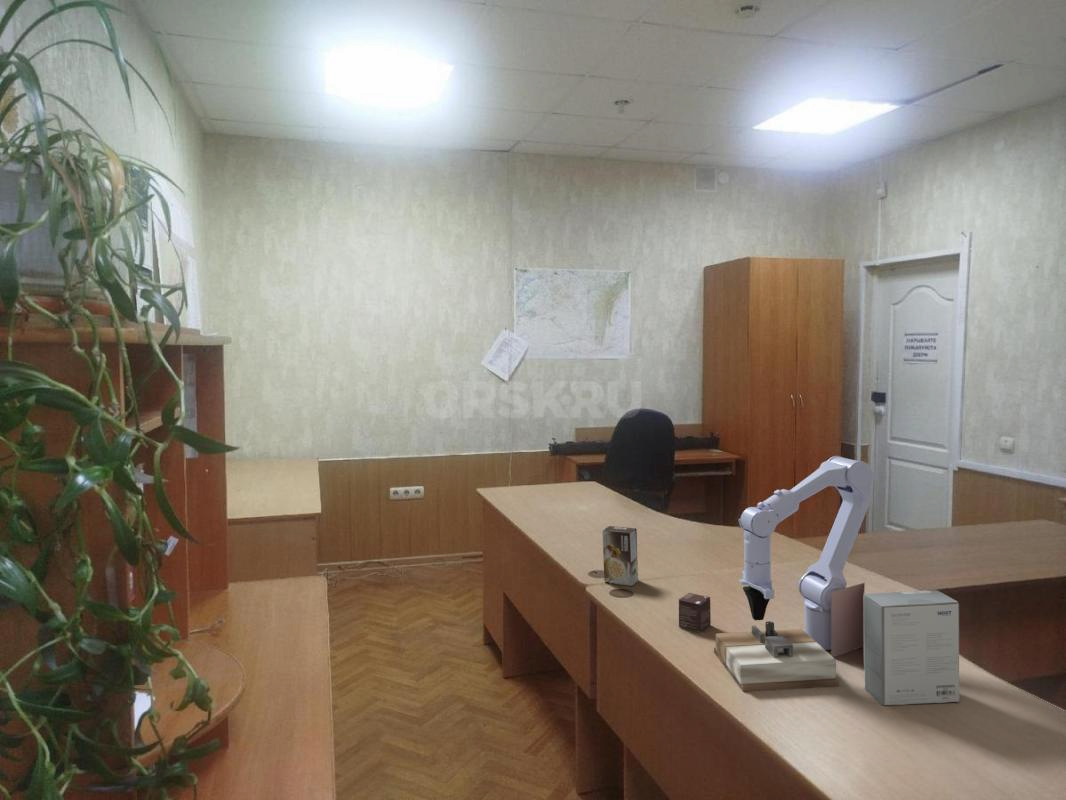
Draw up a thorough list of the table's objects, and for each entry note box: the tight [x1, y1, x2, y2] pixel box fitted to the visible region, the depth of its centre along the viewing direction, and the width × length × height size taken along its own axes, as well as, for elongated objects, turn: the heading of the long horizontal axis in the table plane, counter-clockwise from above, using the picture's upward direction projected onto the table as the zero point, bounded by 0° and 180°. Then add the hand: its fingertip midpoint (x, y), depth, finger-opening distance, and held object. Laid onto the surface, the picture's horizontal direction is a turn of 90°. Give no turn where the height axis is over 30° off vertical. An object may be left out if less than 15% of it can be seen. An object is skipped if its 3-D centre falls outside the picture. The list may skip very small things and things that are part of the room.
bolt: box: [765, 621, 784, 653], centre depth 155 cm, size 7×2×4 cm, turn 3°
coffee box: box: [602, 525, 639, 587], centre depth 216 cm, size 9×6×16 cm
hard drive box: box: [863, 589, 960, 706], centre depth 142 cm, size 16×8×20 cm, turn 92°
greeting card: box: [830, 582, 866, 666], centre depth 160 cm, size 11×7×15 cm, turn 119°
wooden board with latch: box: [713, 625, 839, 692], centre depth 156 cm, size 19×20×8 cm
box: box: [678, 592, 712, 633], centre depth 180 cm, size 6×6×7 cm
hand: (757, 619), depth 164 cm, fingers closed
